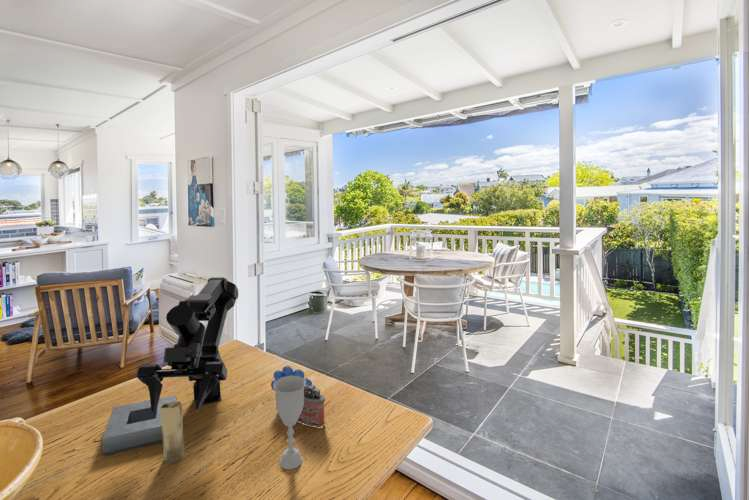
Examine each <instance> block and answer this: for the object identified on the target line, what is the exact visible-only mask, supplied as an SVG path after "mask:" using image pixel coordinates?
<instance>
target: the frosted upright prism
mask: <svg viewBox="0 0 749 500" xmlns="http://www.w3.org/2000/svg"><path fill="white" fill-rule="evenodd" d="M182 407H183V406H182V403H181V401H177V400H176V401H174V402H169V403H166V404H164V405H163V406H162V407H161V408H160V409H161V425H162V441H163V442H162V452H163V453H162V455H163V461H164V463H165V464H175V463H177V462H179V461H181V460H182V459H183V458H184V457H185V445H184V443H185V442H184V428H183V427H184V425H183V423H184V422H183V412H182V411H183V409H182Z"/></svg>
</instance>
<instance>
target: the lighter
mask: <svg viewBox="0 0 749 500" xmlns="http://www.w3.org/2000/svg"><path fill="white" fill-rule="evenodd" d="M325 401H326V397H325V396H324V395H321V388H318V387H316V385H314V384H312V386H308V385H305V386H304V406H303V409H302V412H301V414H300V416H299V418H298V421H299V422H301V423H304V424H307V425H310V426H316V427H321V426H323V425H324V424H325V425H326V421H325Z"/></svg>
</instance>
